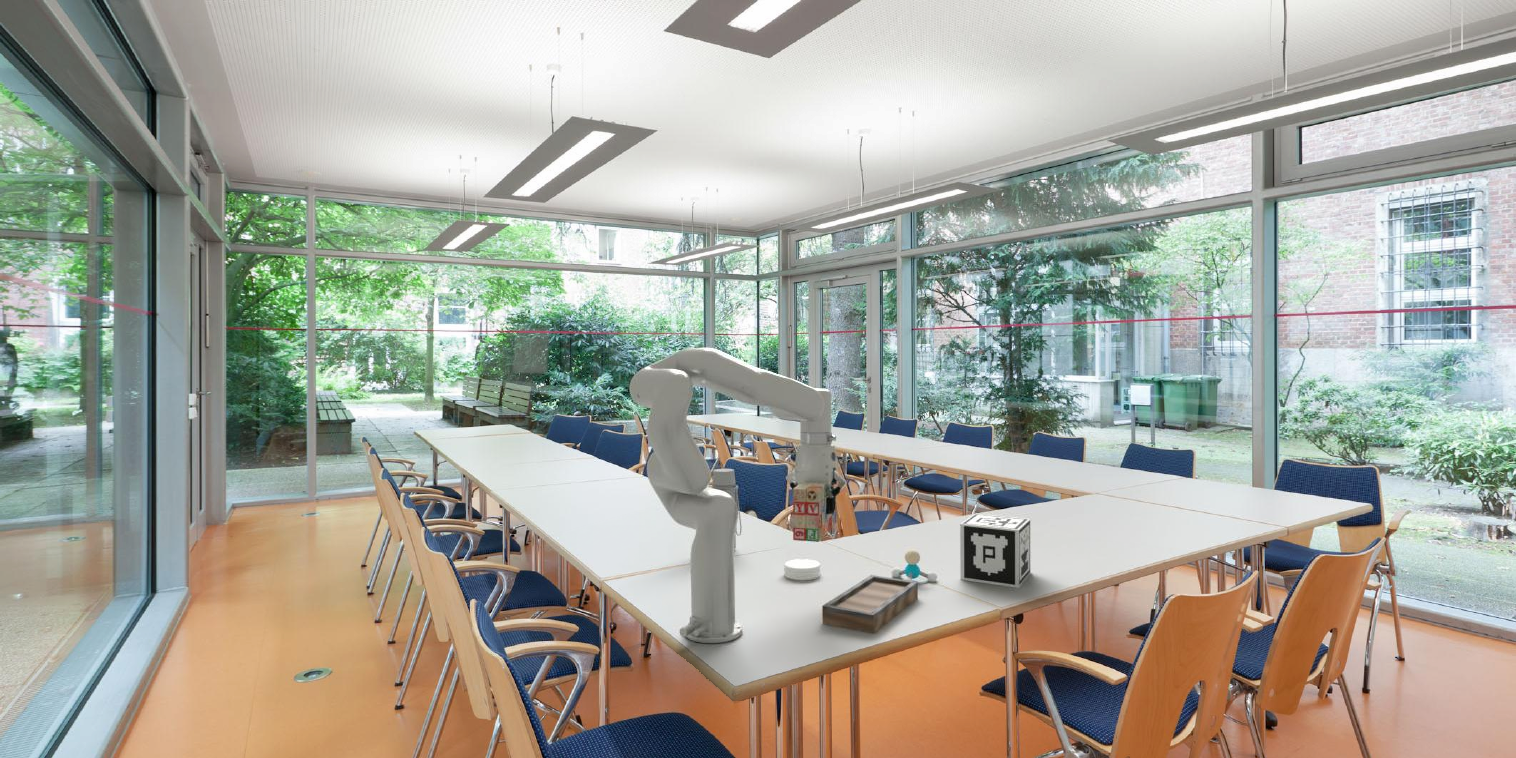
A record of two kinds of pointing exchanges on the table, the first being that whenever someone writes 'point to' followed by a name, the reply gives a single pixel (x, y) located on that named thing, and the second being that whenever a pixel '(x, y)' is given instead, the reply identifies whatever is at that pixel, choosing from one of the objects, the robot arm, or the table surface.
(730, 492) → the water bottle
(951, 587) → the table surface
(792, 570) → the coaster
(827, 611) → the wooden tray
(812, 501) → the stack of blocks
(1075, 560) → the table surface
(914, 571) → the molecule model
